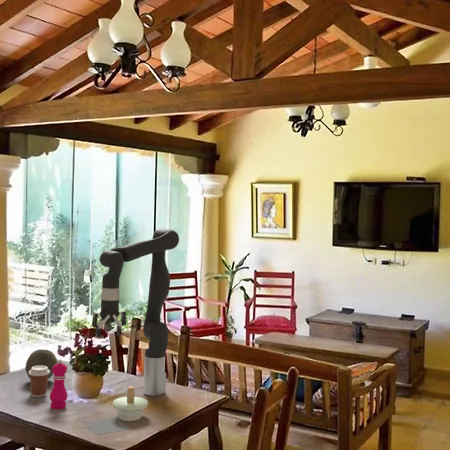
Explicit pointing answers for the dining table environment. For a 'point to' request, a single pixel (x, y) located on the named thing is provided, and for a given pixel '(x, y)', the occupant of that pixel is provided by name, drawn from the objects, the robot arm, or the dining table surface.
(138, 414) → the ramekin
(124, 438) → the dining table surface
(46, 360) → the cantaloupe
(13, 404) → the dining table surface
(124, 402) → the lid
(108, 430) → the mat
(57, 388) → the pepper mill
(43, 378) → the coffee cup
